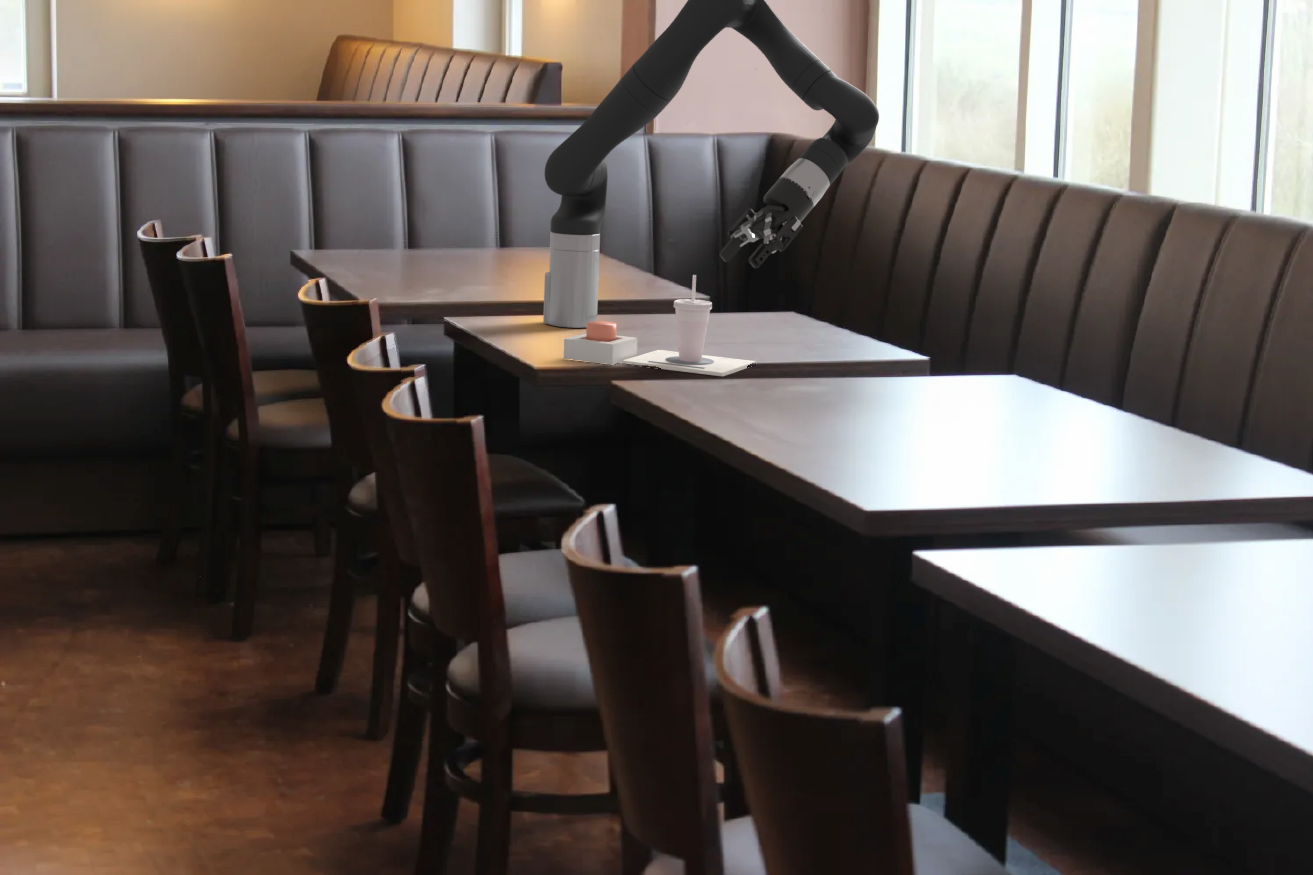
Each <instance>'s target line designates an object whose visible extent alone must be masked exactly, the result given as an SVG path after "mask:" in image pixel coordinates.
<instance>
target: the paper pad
mask: <svg viewBox="0 0 1313 875" xmlns="http://www.w3.org/2000/svg"><path fill="white" fill-rule="evenodd" d="M622 362H624V363H632V364H640V365H648V366H656V367H659V368H661V369H660V370H666V371H667V370H668V371H675V372H683V373H693V374H699V375H708V376H716V377H725V376H729V375H731V374H735V373H737V372H740V371H742V370H745V369H748V368H747V366H748V365H750V364H752V363H755V362H756V363H757V360H748V359H742V358H741V359H740V358H732V357H724V356H715V355H707V354H705V355H704V354H702V360H701V361H699V362H687V361H681V360H679V351H671V350H665V349H664V350H662V349H657V350H653V351H649V352H645V353H643V354H640V355H637V356H636V357H632V358H629V359H625V360H622Z"/></svg>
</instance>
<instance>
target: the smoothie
mask: <svg viewBox="0 0 1313 875" xmlns="http://www.w3.org/2000/svg"><path fill="white" fill-rule="evenodd" d="M691 283H692V284H691V299H690V298H689V299H688V298H684V299H681V298H680V299H676V300H674V301H673V308H675V309H674V310H675V321H676V336H677V347H678V349H677V350H678V351H677V352H679V360H681V361H687V362H699V361H701V360H702V355H704V354H703V353H704V352H703V351H704V347H705V341H706V336H707V331H708V330H707V329H708V324H709V319H710V314H711V313H710V312H711V310H712V309H713V302H712V301H710V300H704V299H696V288H697V285H696V284H697V274H692V281H691Z"/></svg>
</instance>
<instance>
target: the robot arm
mask: <svg viewBox="0 0 1313 875" xmlns="http://www.w3.org/2000/svg"><path fill="white" fill-rule="evenodd" d="M726 28H727V29H728V28H730V29H733V30H735V32H737V33H739V34H740V35H742V36H743V37H744V38H746V39H747V40H748V41H750V43H752V44H753V45H754V46H755V47H756V48H757V49H758V50H759V51H760V52H761V53H762V54H763V55H764V57H765V58H766V59H767V61H768V62H769V64H770V66H771V67H772V68H773V70H774V71H775V73H776V74H777V76H779V78H780V79H781V80H782V81H783V83H784V84H785V86H787V87H788V88H789V89H790V90H791V91H792V92H793V93H794V95H796V96H797V97H798V98H799V99H801V101H803V103H805V105H807V107H809V108H810V109H812V110H814V111H822V110H824V111H825V112H826V113H828V114H830V116H832V118H834V119H835V120H834V123H833V124H832V125H831V127H830V128H829V129H828V131H826V133H825V134H824V135H823V136H822V137H818V138H816V139H815V140H813V142H812V143H810V145H808V147H806V149H805V150H804V151H803V153H802V154H801V155H800V156H799V157H798V158H797V159H796V160H795V161H794V162H793V163H792V164H791V165H789V167H788V168H786V170H785V171H784V172H783V173H782V175H781V176H780V177H779V178H778V179H777V180H776V181H775V183H774V184H773V185H771V187H770V188H769V190H768V191H767V192H766V193H765V195H764V196H763V208H761V209H760V210H759V211H757V212H754V210H753V209H752V208H751V207H749V208H747V210H746V209H745V211H744V212H743V213H742V215H741V216H740V217H739V218H738V219H737V220H736V221H735V222H734V223H733V225H732V226H730V227H729V229H728V230H727V235H728V236H729V237H730V239H729V241H728V242H727V243H726V244H725V245H724V247H723V248H722V249H721V250H720V251H719V254H718V255H719V257H720V258H721V259H722V260H723V262H725V263H729V262H730V261H731V260H732V259H733V258H734V256H735V255H736V254H737V253H738V252H739V251H740V250H741V249H742V247H743V246H744V245H747V244H748V243H755V242H756V241H758V240H761V239H763V243H760V244H759V245H758V247H757V248H756V249H755V250H754V251H753V252H752V254H751V255H750V256H749V257H748V260H747V261H748V263H749V264H750V265H751V267H752V268H754V269H759V268H760V267H761V265H762V264H764V262H765V261H766V260H767V258H768V257H769V256H771V254H775V253H776V252H777V251H779V252H781V253H782V252H784V251H785V250H787V249H788V247H789V246H790V244H791V243H792V241H794V239H795V238H796V237H797V236H798V234H799V233H800V232H801V231H802V229H803V224H802V223H801V222H802V221H804V220H805V218H806V217H807V216H808V214H809V213H810V212H811V211H812V210H813V208H814V207H816V205H817V204H818V202H820V200H822V198H823V196H824V194H826V192H827V191H828V189H829V188H830V186H832V183H834V182H835V180H836V179H837V178H839V175H841V173H842V172H843V170H844V169H845V167H847V166H848V165H849V164H850V163H852V162H853V161H854V160H855V159H856V158H857V157H858V156H860V154H861V153H862V152H864V150H865V149H866V148H867V147H868V146H869V144H870V143H871V141H872V140H873V137H874V135H875V132H876V130H877V127H878V125H879V124H878V123H879V121H880V113H879V110H878V107H877V105H876V104H875V102H874V101H873V100H872V99H871V98H870V96H868V94H866V93H865V92H863V90H860V89H859V88H857V87H856V86H854V85H852V84H851V83H849V82H848V81H846V80H844V79H843V78H840V77H838V76H837V74H836V73H835V72H834V71H832V70H831V68H830V67H829V66H828V65H827V64H825V63H824V62H823V61H822V60H821V59H820V58H819V56H817V55H816V54H815V53H814V52H813V51H812V50H811V49H810V48H809V47H807V46H806V44H804V43H803V42H802V41H801V39H800V38H798V37H797V36H796V35H795V34H794V33H793V32H792V31H791V29H789V27H787V26H786V25H785V24H784V22H783V21H782V20H781V19H780V17H778V15H777V14H776V13H775V12H774V10H773V9H772V8H771V6H770V5H769V4H768V2H767V1H766V0H687V1H686V3H684V5H683V7H682V8H681V10H680V11H679V12H678V14H677V15H676V16H675V18H674V20H672V22H671V23H669V25H668V26H667V28H666V29H665V30H664V31H663V32H662V33H661V34H660V35H658V37H657V38H656V39H655V40H654V42H652V44H651V45H650V46H649V47H648V48H647V49H646V50H645V52H644V53H643V54H641V56H640V57H639V58H638V59H637V60H636V61H635V62H634V63H633V64H632V66H631V67H629V69H628V70H627V71H626V72H625V73H624V75H623V76H622V77H621V78H620V79H619V81H618V82H617V83H616V84H615V85H614V87H613V88H612V89H611V90H610V92H608V94H607V95H606V96H605V97H604V98H603V99H602V101H601V102H600V103H599V105H597V107H596V108H595V109H594V110H593V112H592V113H591V114H590V115H589V117H588V118H586V120H585V121H584V122H583V123H582V124H581V125H580V126H579V127H578V128H577V129H576V130H575V131H574V132H573V133H572V134H570V135H569V136H568V137H566V139H565V140H564V141H562V142H561V144H559V145H558V146H557V147H556V148H555V149H554V150H553V151H552V152H551V154H550V155H549V157H548V158H547V160H546V162H545V167H544V180H545V183H546V186H547V187H548V188H549V189H550V191H552V192H553V193H555V194H557V195H560V196H561V198H560V199H561V201H560V205H559V207H558V209H557V211H556V212H555V213H554V214H553V215H552V217H551V219H550V235H549V236H550V237H549V238H550V239H549V269H548V270H549V271H547V272H545V274H544V282H543V283H544V287H543V288H544V289H543V290H544V291H543V321H542V322H543V324H545V325H546V324H547V325H550V326H554V327H561V328H577V329H578V328H586V326H587V322H590V321H598V305H599V304H598V303H599V302H598V301H599V300H598V299H599V278H600V272H599V271H600V247H601V246H600V245H601V225H602V223H603V220H604V218H605V214H606V206H607V205H606V204H607V195H608V194H607V192H608V191H607V190H608V179H609V178H608V175H609V174H608V165H607V162H606V159H605V158H606V157H607V156H609V154H610V153H611V152H612V151H613V150H615V148H616V147H618V145H620V144H621V143H623V142H625V140H627V139H629V138H630V137H631V136H633V135H635V134H636V133H637V132H639V131H641V130H642V129H643V128H644V127H646V126H647V125H648V124H650V123H652V121H653V120H655V119H656V117H658V115H660V114H661V112H663V110H665V108H666V107H667V106H668V105H669V104H670V103H671V101H673V99H674V98H675V97H676V96H677V95H678V93H679V91H680V90H681V89H682V87H683V85H684V84H685V81H686V80H687V77H688V76H689V73H690V70H691V68H692V66H693V64H694V62H695V61H696V59H697V57H698V56H699V55H700V53H701V52H702V50H703V49H705V47H706V46H707V45H708V44H709V43H710V42H711V41H712V40H713V39H715V37H716V36H717V35H718V34H719V33H721V32H722V31H723V30H725V29H726ZM738 228H739V229H738ZM783 237H784V241H782V239H783Z"/></svg>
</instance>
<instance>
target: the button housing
mask: <svg viewBox="0 0 1313 875" xmlns="http://www.w3.org/2000/svg"><path fill="white" fill-rule="evenodd" d="M636 356H638V337H633V336H626V335H625V336H624V335H617V334H616V340H614V341H611V342H604V341H595V340H587V339H586V332H585V333H581V334H577V335H573V336H570V337H566V338H565V337H564V338H563V360H564V359H573V360H582V361H589V362H595V363H607V364H614V363H618V362H620V361H622V360H625V359H629V358H632V357H636Z"/></svg>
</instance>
